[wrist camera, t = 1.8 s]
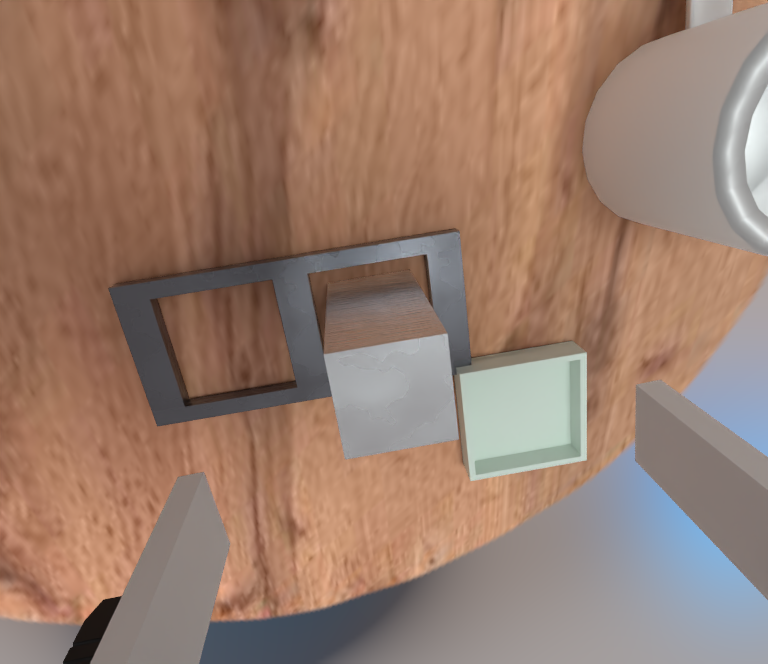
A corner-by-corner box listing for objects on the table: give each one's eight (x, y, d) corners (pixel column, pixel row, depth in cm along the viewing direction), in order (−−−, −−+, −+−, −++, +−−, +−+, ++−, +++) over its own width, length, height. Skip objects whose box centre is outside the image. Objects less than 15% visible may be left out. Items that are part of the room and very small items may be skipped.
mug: (575, -21, 26) (726, -124, 16) (767, -57, 26) (1034, -181, 16) (585, 239, 31) (705, 284, 21) (746, 206, 31) (942, 235, 21)
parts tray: (463, 463, 36) (470, 481, 34) (452, 361, 33) (459, 374, 31) (573, 443, 36) (586, 460, 34) (572, 340, 33) (586, 352, 31)
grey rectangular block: (342, 358, 32) (345, 459, 22) (327, 282, 30) (323, 354, 20) (419, 345, 32) (458, 439, 22) (409, 269, 30) (447, 333, 20)
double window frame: (162, 418, 32) (157, 426, 31) (115, 283, 29) (108, 288, 28) (468, 365, 33) (472, 372, 32) (455, 228, 30) (459, 231, 29)
